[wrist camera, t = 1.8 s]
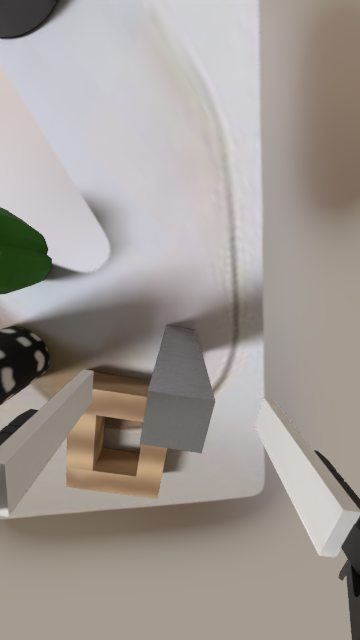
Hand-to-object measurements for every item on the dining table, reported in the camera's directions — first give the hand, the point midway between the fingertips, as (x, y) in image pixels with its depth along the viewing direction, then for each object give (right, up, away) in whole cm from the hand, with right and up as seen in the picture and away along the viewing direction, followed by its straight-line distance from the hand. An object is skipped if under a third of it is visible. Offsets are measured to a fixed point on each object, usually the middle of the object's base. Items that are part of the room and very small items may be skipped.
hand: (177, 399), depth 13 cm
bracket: (0, +2, +11) cm, 11 cm away
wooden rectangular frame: (-9, -11, +15) cm, 20 cm away
